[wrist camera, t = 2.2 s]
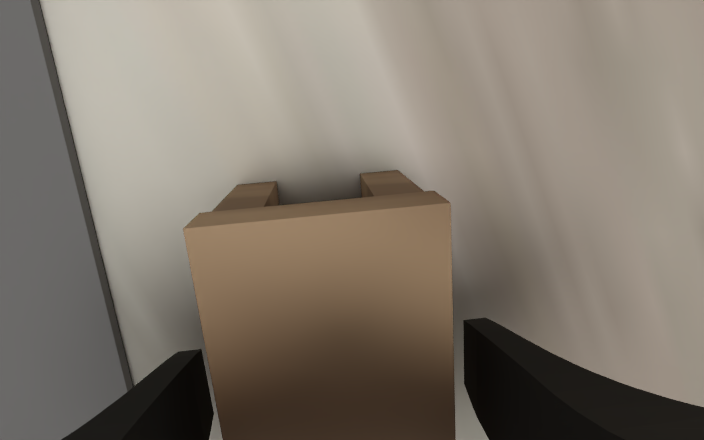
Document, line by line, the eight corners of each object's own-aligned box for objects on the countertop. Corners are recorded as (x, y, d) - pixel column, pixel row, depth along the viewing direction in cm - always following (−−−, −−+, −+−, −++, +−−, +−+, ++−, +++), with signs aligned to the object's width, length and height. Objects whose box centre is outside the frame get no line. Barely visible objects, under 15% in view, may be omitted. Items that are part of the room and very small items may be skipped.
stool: (411, 430, 16) (458, 592, 11) (276, 447, 16) (257, 622, 11) (397, 163, 14) (450, 203, 8) (236, 178, 13) (183, 228, 8)
